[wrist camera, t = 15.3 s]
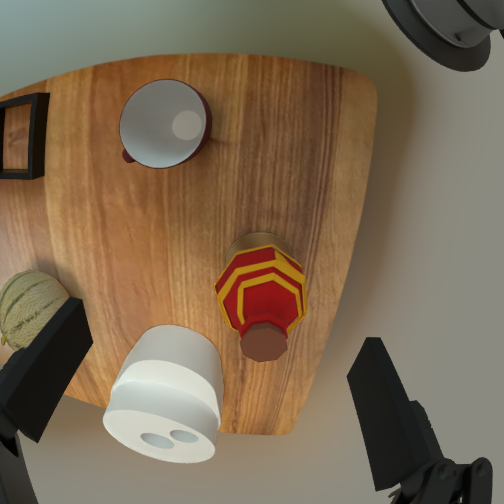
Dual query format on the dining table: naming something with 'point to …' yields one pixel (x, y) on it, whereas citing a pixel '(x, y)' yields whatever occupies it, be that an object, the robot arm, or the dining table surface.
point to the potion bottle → (262, 300)
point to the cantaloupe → (28, 306)
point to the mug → (164, 124)
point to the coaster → (257, 244)
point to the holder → (35, 136)
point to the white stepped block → (168, 396)
